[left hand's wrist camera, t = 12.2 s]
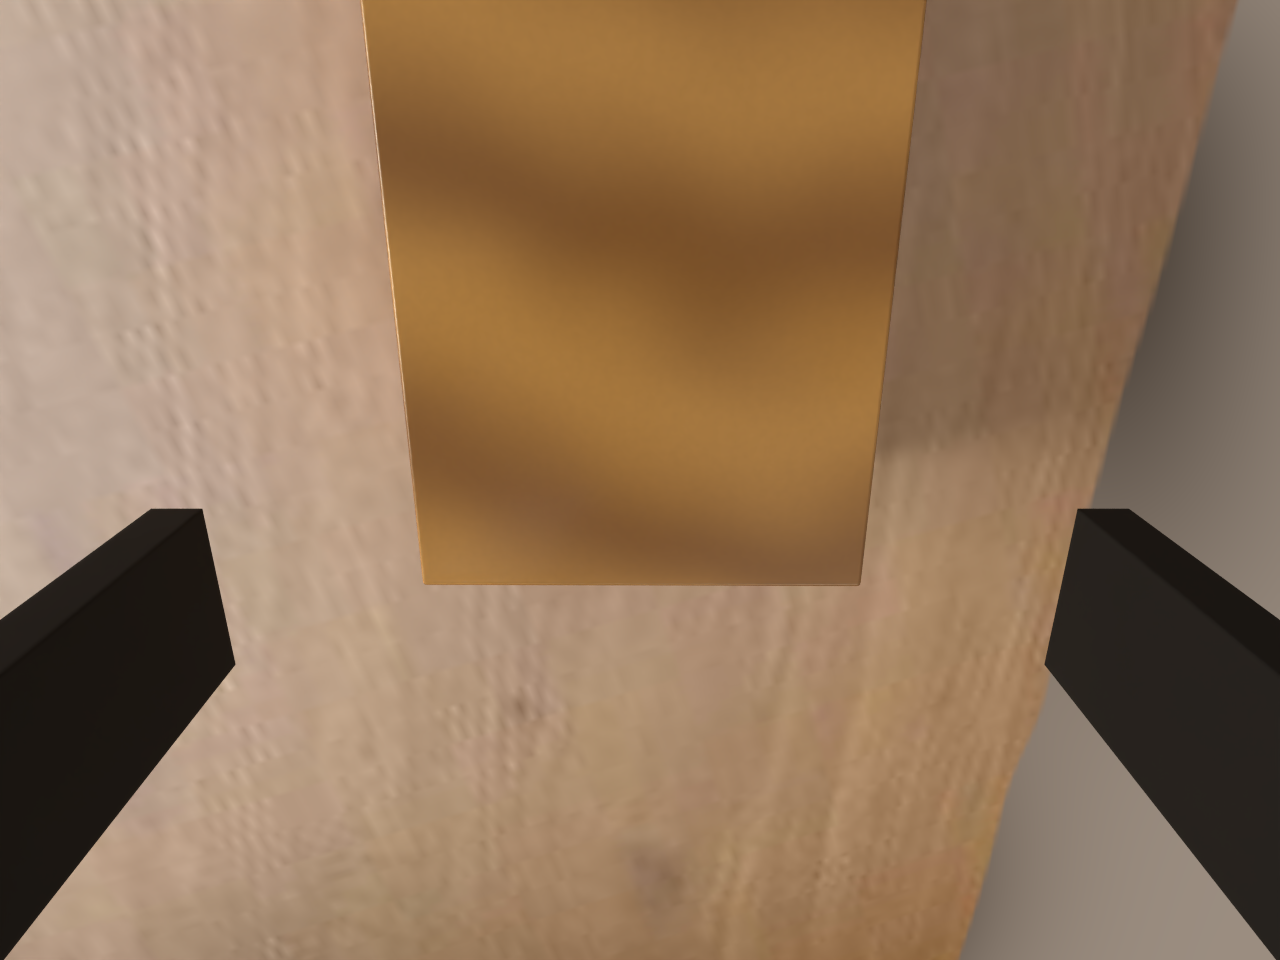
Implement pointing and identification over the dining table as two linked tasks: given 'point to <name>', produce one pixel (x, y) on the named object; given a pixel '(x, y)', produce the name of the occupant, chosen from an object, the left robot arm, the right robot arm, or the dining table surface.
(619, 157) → the wooden rectangular box
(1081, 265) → the dining table surface
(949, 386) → the dining table surface
